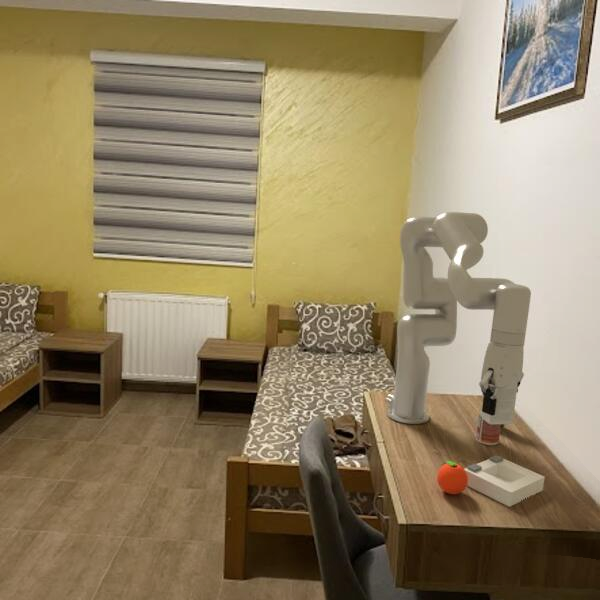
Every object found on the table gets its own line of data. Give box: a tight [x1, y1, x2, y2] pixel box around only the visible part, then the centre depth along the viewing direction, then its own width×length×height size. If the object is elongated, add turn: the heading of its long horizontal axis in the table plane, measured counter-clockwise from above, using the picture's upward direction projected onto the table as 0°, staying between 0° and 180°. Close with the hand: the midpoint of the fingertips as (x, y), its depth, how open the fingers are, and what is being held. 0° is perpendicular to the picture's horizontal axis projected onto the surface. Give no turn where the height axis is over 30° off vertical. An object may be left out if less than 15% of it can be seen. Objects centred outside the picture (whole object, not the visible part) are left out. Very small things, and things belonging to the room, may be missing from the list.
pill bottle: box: [475, 409, 501, 446], centre depth 175 cm, size 6×6×11 cm
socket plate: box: [464, 454, 546, 507], centre depth 149 cm, size 13×14×4 cm
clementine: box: [436, 460, 468, 495], centre depth 145 cm, size 8×7×7 cm
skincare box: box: [482, 375, 518, 425], centre depth 148 cm, size 6×4×12 cm
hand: (498, 410), depth 148 cm, fingers closed on skincare box, 7 cm apart
